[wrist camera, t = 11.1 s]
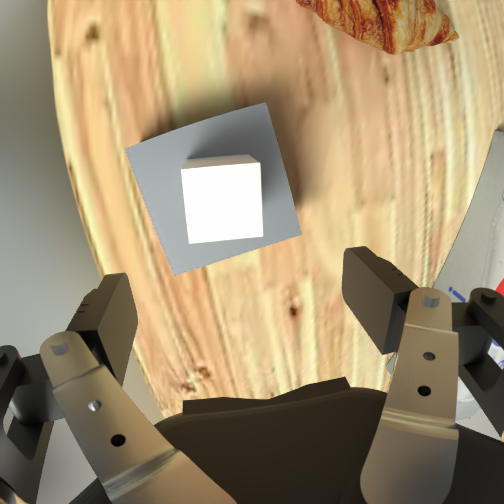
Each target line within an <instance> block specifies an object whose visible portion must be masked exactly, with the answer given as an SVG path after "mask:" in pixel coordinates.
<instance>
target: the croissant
mask: <svg viewBox="0 0 504 504" xmlns="http://www.w3.org/2000/svg"><path fill="white" fill-rule="evenodd" d="M296 2H297V3H298V4H300V6H301V7H304V8H307V9H310V11H313V12H316V13H317V15H318V16H319V17H320V18H322V19H323V21H324V22H326V23H327V24H329V25H331V26H333V27H335V28H337V29H339V30H342V31H345V32H346V33H347V34H349V35H351V36H352V37H354V38H355V39H357V40H359V41H362V42H366V43H368V44H370V45H373V46H375V47H377V48H379V49H380V50H384V51H386V52H387V53H389V54H392V55H396V54H398V53H401V52H402V51H403V52H412V51H414V50H415V49H418V48H420V47H422V46H423V45H426V46H434V45H437V44H440V43H449V42H454V41H455V40H456V39H458V38H459V35H458V34H457V32H456V31H454V27H453V25H452V23H451V21H450V19H449V18H448V17H447V16H446V15H443V14H441V12H440V11H439V9H438V8H437V7H436V4H435V2H434V1H433V0H296Z"/></svg>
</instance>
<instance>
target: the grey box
mask: <svg viewBox="0 0 504 504" xmlns="http://www.w3.org/2000/svg"><path fill="white" fill-rule="evenodd" d="M125 150H126V153H127V156H128V159H129V162H130V165H131V167H132V170H133V173H134V176H135V178H136V181H137V184H138V187H139V189H140V192H141V195H142V197H143V200H144V202H145V205H146V208H147V210H148V213H149V215H150V218H151V220H152V223H153V225H154V228H155V230H156V233H157V235H158V238H159V240H160V243H161V245H162V247H163V250H164V252H165V255H166V257H167V259H168V262H169V264H170V266H171V269H172V271H173V273H174V276H175V275H178V274H181V273H184V272H187V271H191V270H194V269H197V268H200V267H203V266H206V265H209V264H212V263H215V262H218V261H221V260H224V259H228V258H231V257H234V256H237V255H240V254H243V253H246V252H249V251H252V250H255V249H258V248H261V247H265V246H268V245H271V244H274V243H277V242H280V241H283V240H286V239H289V238H292V237H295V236H299V235H302V234H301V229H300V225H299V221H298V217H297V213H296V209H295V205H294V201H293V198H292V194H291V190H290V186H289V182H288V178H287V175H286V171H285V167H284V163H283V160H282V156H281V153H280V149H279V145H278V142H277V138H276V135H275V131H274V128H273V124H272V121H271V117H270V114H269V110H268V107H267V104H266V102H264V103H260V104H256V105H253V106H249V107H245V108H242V109H238V110H235V111H231V112H228V113H225V114H221V115H218V116H215V117H212V118H208V119H205V120H202V121H199V122H196V123H193V124H190V125H187V126H184V127H181V128H178V129H176V130H173V131H170V132H167V133H165V134H162V135H159V136H156V137H154V138H151V139H149V140H146V141H143V142H141V143H138V144H136V145H133V146H131V147H128V148H126V149H125ZM244 154H248V155H250V156H251V157H252V158H254V159H255V160H257V161H258V162H260V171H261V194H262V219H263V237H253V238H242V239H232V240H222V241H212V242H202V243H192V244H189V238H188V230H187V222H186V213H185V204H184V194H183V185H182V174H181V169H182V167H183V165H184V163H185V161H186V159H195V158H206V157H217V156H230V155H244Z"/></svg>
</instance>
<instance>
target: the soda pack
mask: <svg viewBox="0 0 504 504" xmlns="http://www.w3.org/2000/svg"><path fill="white" fill-rule="evenodd" d="M479 287H483V288H489V289H492V290H495V291H497V292H498V293H500V294H501V295H503V296H504V131H496V130H495V131H494V134H493V138H492V143H491V146H490V150H489V153H488V156H487V159H486V162H485V165H484V168H483V171H482V174H481V177H480V180H479V183H478V185H477V188H476V191H475V194H474V196H473V199H472V202H471V204H470V207H469V209H468V212H467V214H466V217H465V219H464V222H463V224H462V227H461V229H460V231H459V234H458V236H457V238H456V240H455V243H454V245H453V247H452V249H451V251H450V254H449V256H448V258H447V260H446V262H445V264H444V266H443V268H442V270H441V272H440V274H439V276H438V278H437V280H436V282H435V284H434V286H433V288H435V289H438V290H441V291H443V292H444V293H446V294H447V295H448V296H449V297H450V299H451V302H468V300H469V296H470V292H471V291H472V290H473V289H475V288H479ZM488 354H489V355H490V356H491V357H492V358H493V360H494V361H495V362H496V363H497V364H498V365H499V367H500V368H501V369H502V370H503V368H504V350H503V349H502V348H501V347H500V346H499V345H498V343H497V342H496V341H495V340H494V339H493V342H492V344H491V347H490V349H489V352H488ZM396 355H397V353H396V352H395V354H394V355H393V357H392V358H391V360H390V361H389V363H388V364H387V366H386V368H387V370H388V371H389V373H390V374H392V370H393V366H394V363H395V359H396ZM479 408H480V406H479V404H478V403H477V401H476V400H475V399H474V397H473V396H472V394H471V393H470V391H469V390H468V389H467V387H466V386H465V385H464V383H463V382H462V380H461V379H460V378H459V376H458V391H457V406H456V418H455V421H456V420H462V419H467V418H469V419H470V418H471V417H472V416H473V415H474V414H475V413H476V412H477V410H478V409H479Z"/></svg>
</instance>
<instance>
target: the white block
mask: <svg viewBox="0 0 504 504" xmlns="http://www.w3.org/2000/svg"><path fill="white" fill-rule="evenodd" d="M181 174H182V185H183V194H184V204H185V213H186V222H187V230H188V238H189V244H192V243H202V242H212V241H222V240H232V239H242V238H253V237H263V219H262V194H261V171H260V162H258V161H257V160H255V159H254V158H252V157H251V156H250V155H248V154H244V155H230V156H217V157H206V158H195V159H186V161H185V163H184V165H183V167H182V169H181Z"/></svg>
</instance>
